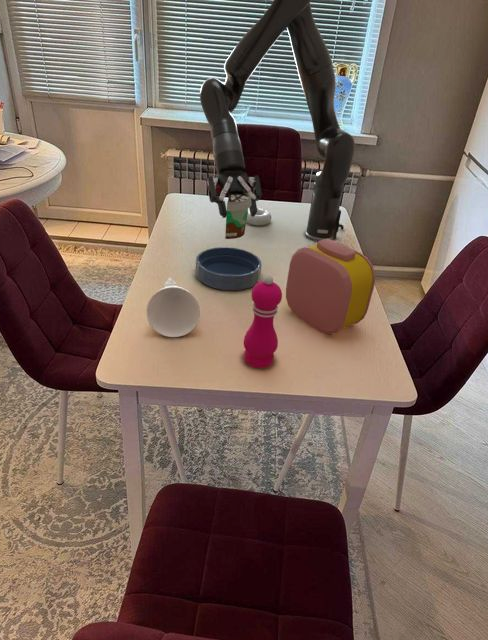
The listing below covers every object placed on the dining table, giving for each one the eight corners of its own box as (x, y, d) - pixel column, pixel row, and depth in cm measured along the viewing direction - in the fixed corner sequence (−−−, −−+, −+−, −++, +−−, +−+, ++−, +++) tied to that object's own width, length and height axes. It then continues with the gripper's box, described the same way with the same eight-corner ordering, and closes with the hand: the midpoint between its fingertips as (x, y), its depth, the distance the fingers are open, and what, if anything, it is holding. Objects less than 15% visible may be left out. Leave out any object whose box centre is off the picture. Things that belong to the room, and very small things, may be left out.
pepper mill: (273, 350, 109) (286, 268, 97) (276, 370, 103) (289, 286, 91) (241, 348, 108) (249, 266, 97) (242, 369, 102) (251, 283, 91)
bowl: (247, 259, 145) (248, 245, 142) (269, 288, 132) (270, 273, 129) (189, 263, 140) (189, 249, 137) (205, 294, 126) (206, 278, 124)
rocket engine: (170, 256, 120) (170, 276, 104) (205, 287, 125) (211, 310, 108) (140, 290, 123) (135, 315, 106) (175, 319, 127) (176, 347, 111)
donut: (265, 216, 176) (238, 216, 173) (266, 206, 174) (239, 206, 171) (274, 226, 168) (247, 227, 165) (276, 217, 166) (248, 217, 163)
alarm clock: (364, 330, 119) (384, 256, 108) (335, 344, 113) (353, 268, 102) (309, 297, 130) (322, 227, 119) (279, 309, 123) (289, 236, 112)
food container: (248, 243, 126) (252, 204, 120) (224, 241, 126) (227, 202, 120) (249, 224, 136) (252, 188, 130) (226, 222, 135) (229, 186, 130)
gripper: (205, 148, 123) (216, 211, 121) (258, 148, 127) (270, 208, 125) (198, 163, 130) (209, 223, 128) (250, 163, 134) (260, 220, 132)
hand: (239, 215), depth 126 cm, fingers closed on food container, 7 cm apart
